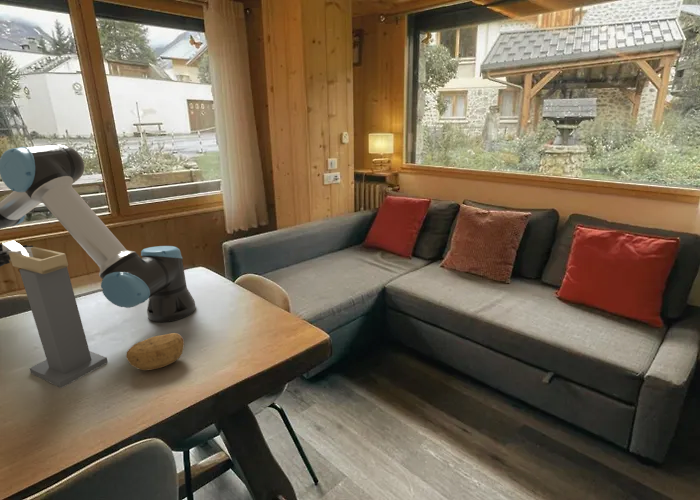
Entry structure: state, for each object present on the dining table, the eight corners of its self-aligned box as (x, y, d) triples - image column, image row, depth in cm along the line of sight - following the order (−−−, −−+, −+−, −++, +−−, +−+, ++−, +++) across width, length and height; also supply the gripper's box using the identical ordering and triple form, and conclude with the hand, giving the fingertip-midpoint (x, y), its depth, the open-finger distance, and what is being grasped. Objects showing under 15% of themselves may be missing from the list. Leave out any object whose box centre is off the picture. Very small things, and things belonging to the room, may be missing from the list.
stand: (107, 362, 111) (79, 249, 101) (61, 387, 101) (24, 265, 91) (77, 350, 118) (47, 243, 107) (30, 373, 108) (-7, 257, 97)
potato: (129, 364, 110) (123, 338, 108) (184, 349, 117) (179, 324, 114) (130, 384, 102) (124, 356, 100) (189, 366, 109) (185, 340, 106)
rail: (63, 285, 116) (63, 277, 114) (52, 289, 113) (52, 280, 112) (14, 249, 122) (14, 240, 121) (2, 252, 120) (2, 243, 118)
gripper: (22, 259, 135) (62, 257, 124) (-38, 275, 121) (0, 275, 110) (14, 237, 133) (54, 233, 122) (-48, 251, 120) (-10, 248, 109)
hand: (28, 253), depth 116 cm, fingers closed on rail, 3 cm apart
